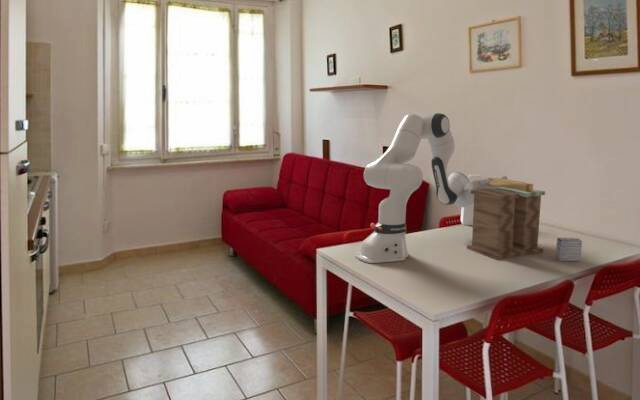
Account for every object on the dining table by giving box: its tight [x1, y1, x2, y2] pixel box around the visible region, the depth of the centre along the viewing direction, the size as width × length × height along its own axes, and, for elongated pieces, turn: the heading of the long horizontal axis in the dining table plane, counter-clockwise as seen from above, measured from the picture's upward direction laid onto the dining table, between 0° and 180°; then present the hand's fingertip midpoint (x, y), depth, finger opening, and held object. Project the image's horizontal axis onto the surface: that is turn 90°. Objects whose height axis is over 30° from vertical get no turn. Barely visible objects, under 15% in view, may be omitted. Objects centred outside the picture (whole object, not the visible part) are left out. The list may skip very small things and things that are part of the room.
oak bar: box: [488, 177, 534, 192], centre depth 207 cm, size 4×22×3 cm, turn 22°
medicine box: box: [555, 237, 583, 262], centre depth 189 cm, size 8×4×9 cm, turn 84°
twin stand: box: [466, 187, 546, 261], centre depth 202 cm, size 25×18×26 cm
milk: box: [460, 174, 484, 226], centre depth 253 cm, size 12×12×26 cm
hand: (497, 178), depth 213 cm, fingers open, 8 cm apart
